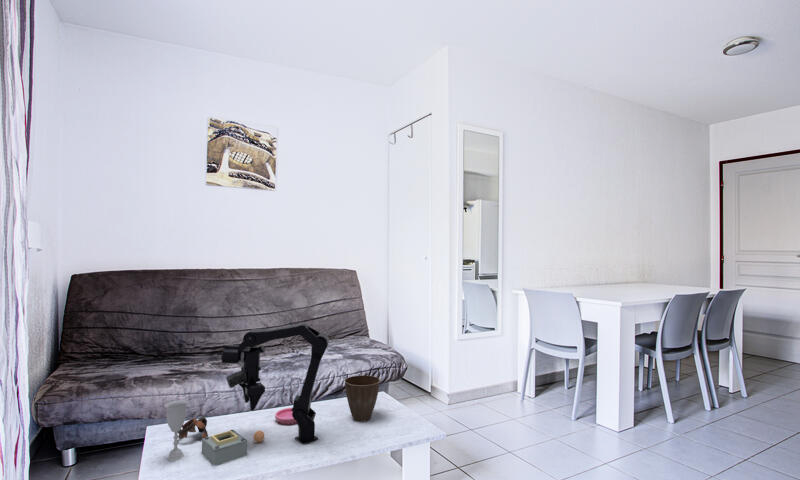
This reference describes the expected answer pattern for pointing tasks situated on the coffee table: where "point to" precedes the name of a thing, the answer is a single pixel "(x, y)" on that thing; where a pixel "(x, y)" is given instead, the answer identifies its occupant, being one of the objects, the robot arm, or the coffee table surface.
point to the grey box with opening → (224, 447)
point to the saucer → (285, 416)
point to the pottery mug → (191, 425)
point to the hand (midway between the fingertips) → (249, 406)
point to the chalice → (176, 424)
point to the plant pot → (362, 395)
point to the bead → (258, 436)
